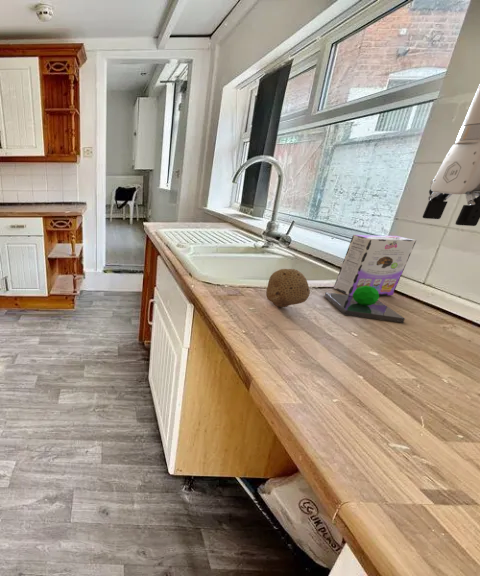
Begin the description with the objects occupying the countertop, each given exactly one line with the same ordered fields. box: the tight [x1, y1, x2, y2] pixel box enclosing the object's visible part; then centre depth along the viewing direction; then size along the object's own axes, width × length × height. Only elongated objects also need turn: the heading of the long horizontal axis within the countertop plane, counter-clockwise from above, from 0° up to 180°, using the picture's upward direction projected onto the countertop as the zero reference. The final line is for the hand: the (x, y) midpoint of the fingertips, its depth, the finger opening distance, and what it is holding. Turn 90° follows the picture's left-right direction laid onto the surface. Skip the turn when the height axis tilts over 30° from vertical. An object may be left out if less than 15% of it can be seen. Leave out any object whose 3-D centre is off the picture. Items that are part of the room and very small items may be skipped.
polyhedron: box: [352, 286, 380, 306], centre depth 77 cm, size 5×5×5 cm
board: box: [324, 292, 406, 324], centre depth 78 cm, size 12×12×1 cm
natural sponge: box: [265, 268, 311, 308], centre depth 75 cm, size 9×9×10 cm
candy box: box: [333, 234, 417, 296], centre depth 86 cm, size 14×6×16 cm, turn 94°
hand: (446, 221), depth 67 cm, fingers open, 9 cm apart
